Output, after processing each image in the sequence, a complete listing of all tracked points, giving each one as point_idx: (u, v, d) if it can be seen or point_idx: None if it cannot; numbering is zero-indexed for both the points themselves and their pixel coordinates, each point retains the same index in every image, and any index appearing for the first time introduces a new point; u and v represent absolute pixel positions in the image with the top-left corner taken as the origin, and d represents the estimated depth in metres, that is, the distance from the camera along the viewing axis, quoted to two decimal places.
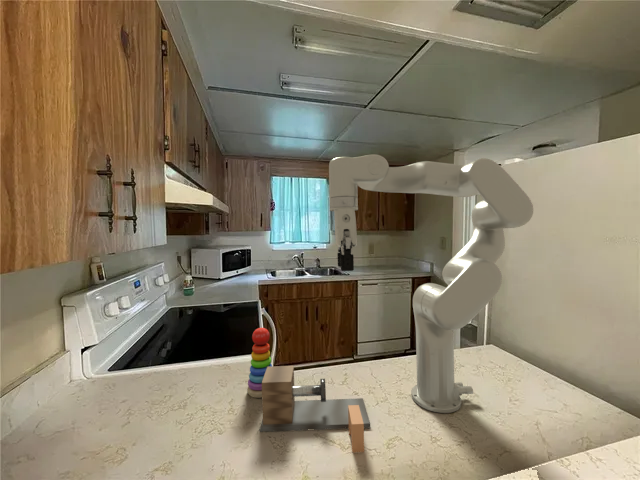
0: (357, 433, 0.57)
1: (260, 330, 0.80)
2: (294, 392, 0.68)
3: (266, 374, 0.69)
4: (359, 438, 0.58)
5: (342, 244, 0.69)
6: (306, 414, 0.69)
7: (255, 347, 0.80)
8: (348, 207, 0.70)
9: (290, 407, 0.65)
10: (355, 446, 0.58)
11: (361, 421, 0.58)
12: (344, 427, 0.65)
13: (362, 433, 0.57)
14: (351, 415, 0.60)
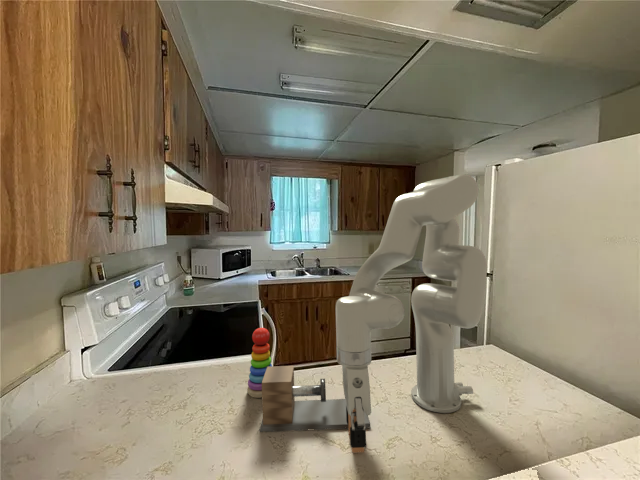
0: None
1: (260, 330, 0.80)
2: (294, 392, 0.68)
3: (266, 374, 0.69)
4: None
5: (352, 415, 0.57)
6: (306, 414, 0.69)
7: (255, 347, 0.80)
8: (360, 366, 0.57)
9: (290, 407, 0.65)
10: None
11: None
12: (344, 427, 0.65)
13: None
14: None
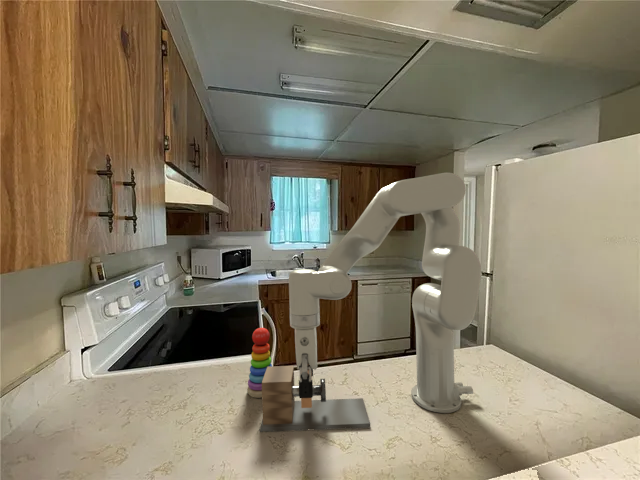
0: None
1: (260, 330, 0.80)
2: (294, 392, 0.68)
3: (266, 374, 0.69)
4: None
5: (300, 368, 0.65)
6: (306, 414, 0.69)
7: (255, 347, 0.80)
8: (307, 327, 0.66)
9: (290, 407, 0.65)
10: (304, 402, 0.66)
11: None
12: (344, 427, 0.65)
13: None
14: None
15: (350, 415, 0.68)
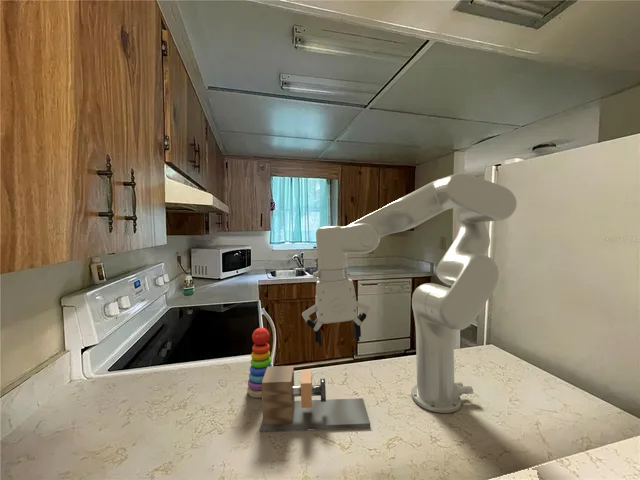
0: (305, 391, 0.66)
1: (260, 330, 0.80)
2: (294, 392, 0.68)
3: (266, 374, 0.69)
4: (307, 396, 0.66)
5: None
6: (306, 414, 0.69)
7: (255, 347, 0.80)
8: (320, 281, 0.68)
9: (290, 407, 0.65)
10: (304, 402, 0.66)
11: (309, 381, 0.67)
12: (344, 427, 0.65)
13: (310, 391, 0.66)
14: (302, 377, 0.69)
15: (350, 415, 0.68)
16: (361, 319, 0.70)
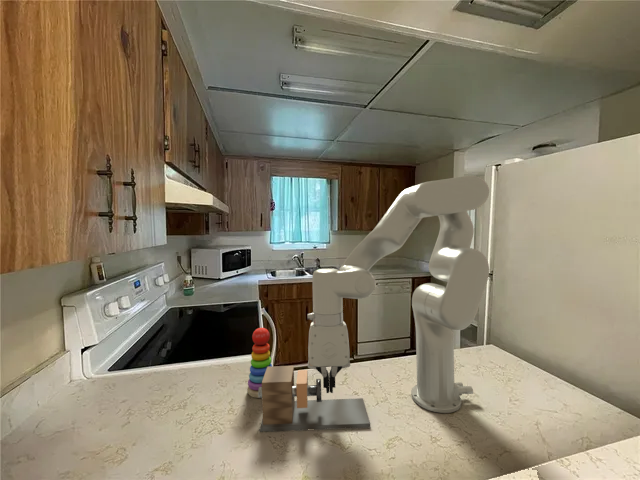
0: (301, 391, 0.66)
1: (260, 330, 0.80)
2: None
3: (266, 374, 0.69)
4: (302, 396, 0.66)
5: None
6: (306, 414, 0.69)
7: (255, 347, 0.80)
8: (313, 323, 0.68)
9: (290, 407, 0.65)
10: (299, 403, 0.66)
11: (305, 381, 0.67)
12: (344, 427, 0.65)
13: (305, 391, 0.66)
14: (298, 377, 0.69)
15: (350, 415, 0.68)
16: None
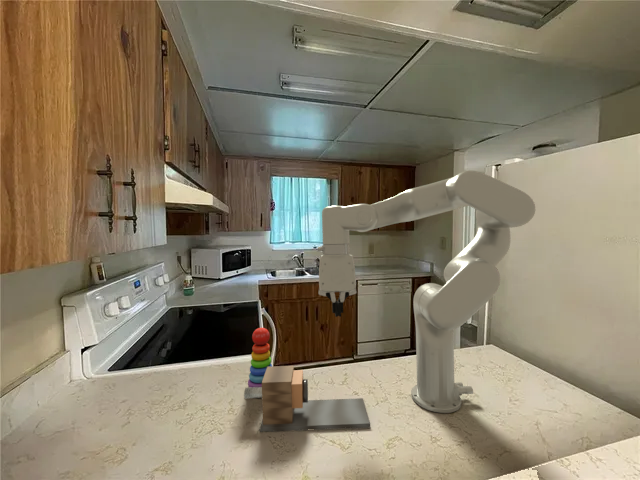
0: (296, 392, 0.66)
1: (260, 330, 0.80)
2: None
3: (266, 374, 0.69)
4: (297, 396, 0.66)
5: None
6: (306, 414, 0.69)
7: (255, 347, 0.80)
8: (323, 254, 0.76)
9: (290, 407, 0.65)
10: (295, 403, 0.66)
11: (300, 382, 0.67)
12: (344, 427, 0.65)
13: (300, 392, 0.66)
14: (293, 377, 0.69)
15: (350, 415, 0.68)
16: None
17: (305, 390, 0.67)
